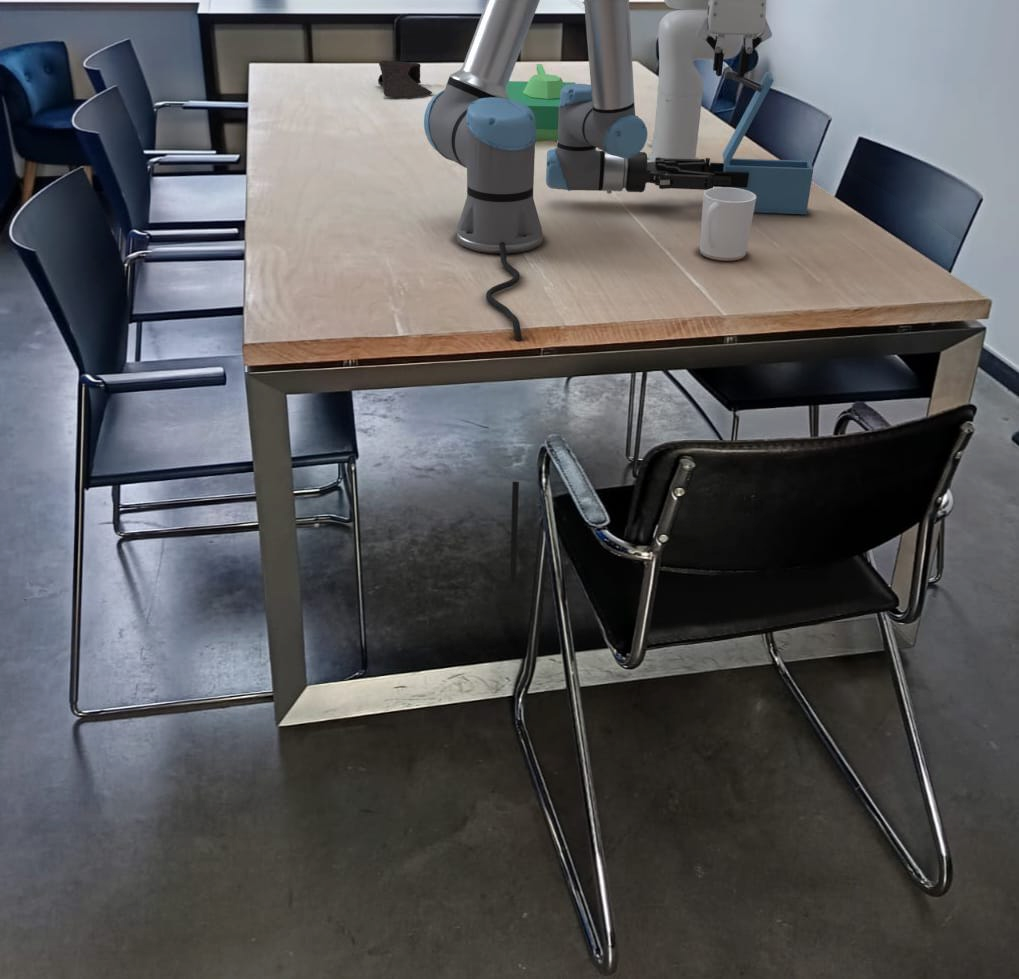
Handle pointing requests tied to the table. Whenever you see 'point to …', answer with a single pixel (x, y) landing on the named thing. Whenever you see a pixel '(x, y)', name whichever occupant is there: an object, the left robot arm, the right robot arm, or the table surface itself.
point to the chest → (776, 183)
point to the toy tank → (540, 101)
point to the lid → (750, 111)
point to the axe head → (401, 79)
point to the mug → (726, 222)
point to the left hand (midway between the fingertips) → (745, 175)
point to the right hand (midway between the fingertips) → (729, 74)
